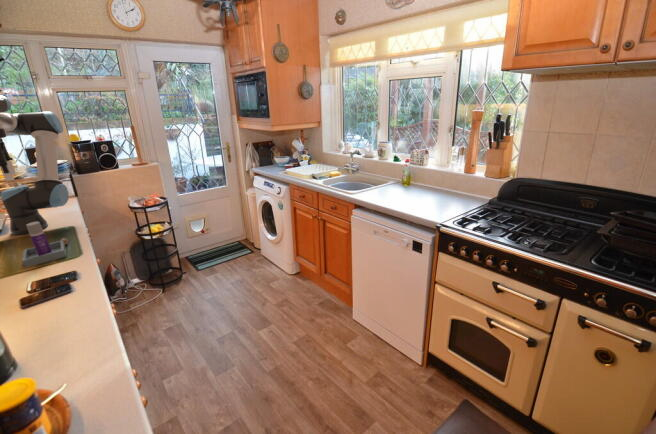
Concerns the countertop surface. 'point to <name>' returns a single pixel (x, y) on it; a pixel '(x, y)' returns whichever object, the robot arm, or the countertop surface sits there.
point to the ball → (64, 240)
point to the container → (38, 238)
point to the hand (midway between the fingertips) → (11, 177)
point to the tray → (33, 259)
